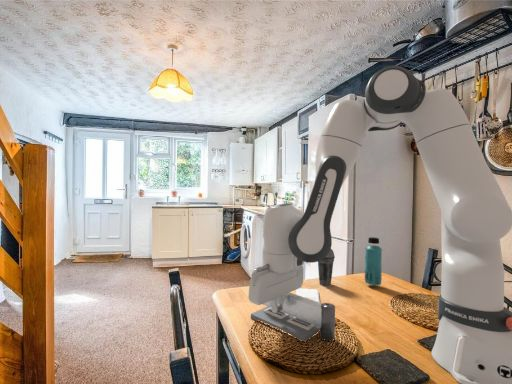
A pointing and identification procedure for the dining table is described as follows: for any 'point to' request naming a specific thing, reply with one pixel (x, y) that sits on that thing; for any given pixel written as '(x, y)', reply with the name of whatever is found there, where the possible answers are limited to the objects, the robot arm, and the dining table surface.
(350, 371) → the dining table surface
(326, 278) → the beverage cup
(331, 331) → the grey rectangular block
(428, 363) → the dining table surface
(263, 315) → the label panel
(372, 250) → the beverage bottle
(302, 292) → the external hard drive
